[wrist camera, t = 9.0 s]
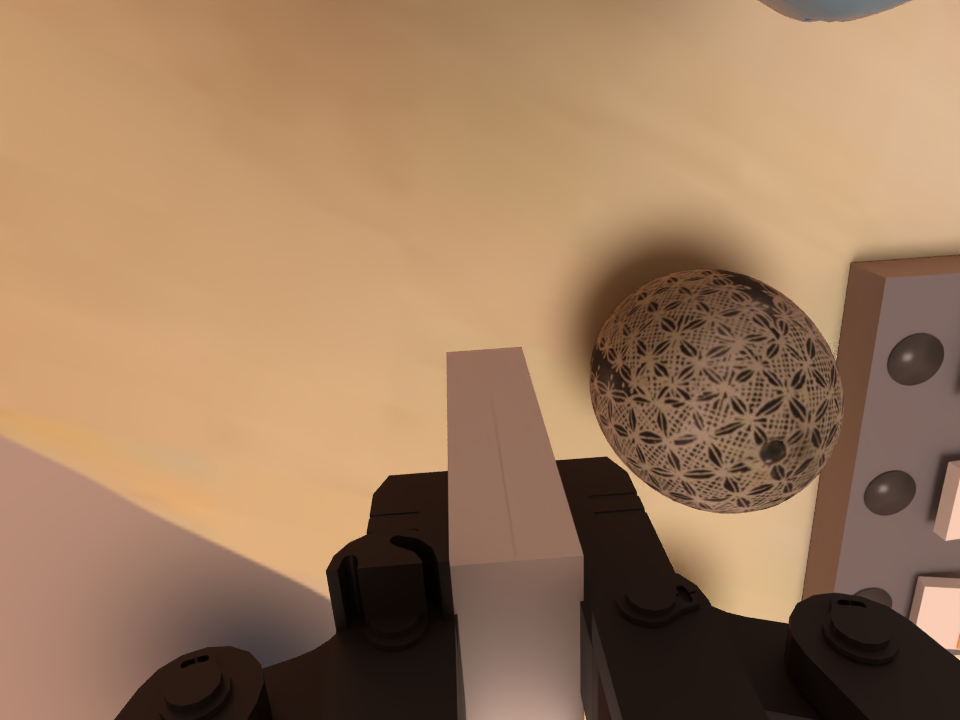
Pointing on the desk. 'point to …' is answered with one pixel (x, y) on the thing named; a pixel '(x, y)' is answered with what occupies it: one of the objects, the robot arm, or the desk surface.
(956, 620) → the rocker
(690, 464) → the decorative egg
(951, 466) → the middle rocker
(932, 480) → the power strip
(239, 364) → the desk surface
